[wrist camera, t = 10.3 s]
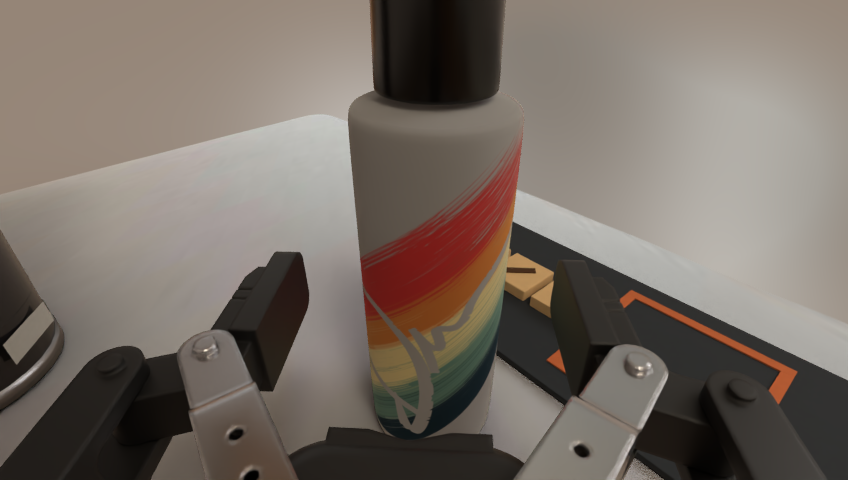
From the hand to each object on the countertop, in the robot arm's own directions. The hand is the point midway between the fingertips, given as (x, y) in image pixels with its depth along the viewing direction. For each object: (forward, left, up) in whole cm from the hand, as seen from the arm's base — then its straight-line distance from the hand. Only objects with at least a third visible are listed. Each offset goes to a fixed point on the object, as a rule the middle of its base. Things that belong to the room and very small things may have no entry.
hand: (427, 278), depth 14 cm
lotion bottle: (+3, +1, -11) cm, 11 cm away
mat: (+12, -6, -11) cm, 17 cm away
